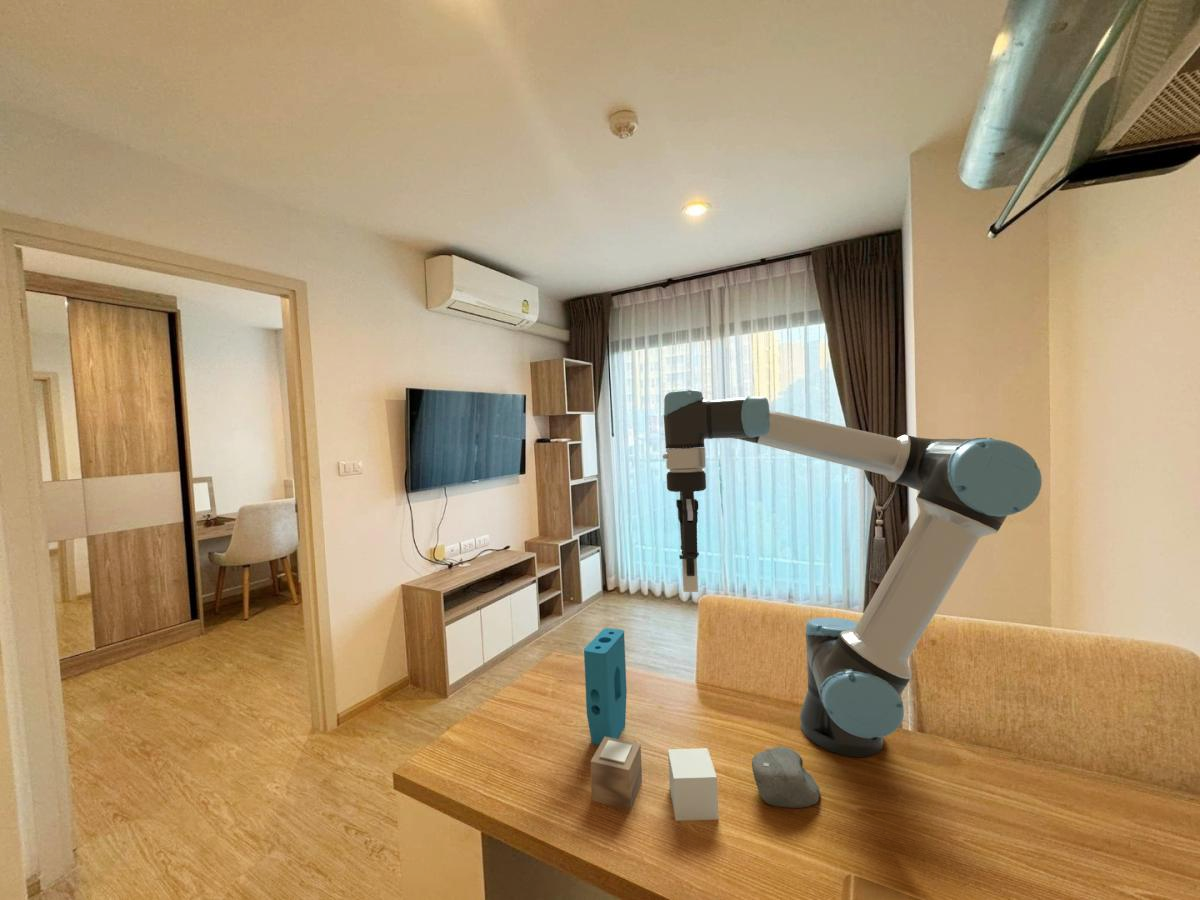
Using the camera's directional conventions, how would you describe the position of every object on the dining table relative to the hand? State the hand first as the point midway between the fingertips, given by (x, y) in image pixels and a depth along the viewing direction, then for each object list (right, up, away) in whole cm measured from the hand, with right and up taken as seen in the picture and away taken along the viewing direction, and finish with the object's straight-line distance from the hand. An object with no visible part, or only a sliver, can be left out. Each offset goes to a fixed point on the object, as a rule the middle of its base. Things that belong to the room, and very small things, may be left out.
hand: (690, 590), depth 88 cm
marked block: (-15, -33, -8) cm, 37 cm away
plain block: (-2, -33, -11) cm, 35 cm away
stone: (+15, -32, -10) cm, 37 cm away
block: (-16, -33, +8) cm, 38 cm away
